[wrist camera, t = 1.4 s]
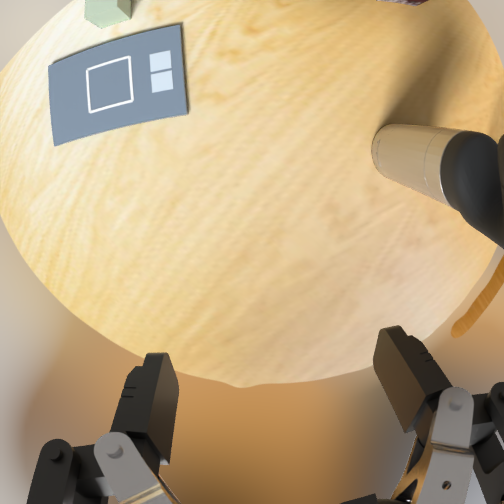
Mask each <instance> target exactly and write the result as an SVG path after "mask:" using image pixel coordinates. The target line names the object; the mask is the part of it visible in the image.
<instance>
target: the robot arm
mask: <svg viewBox="0 0 504 504" xmlns="http://www.w3.org/2000/svg"><path fill="white" fill-rule="evenodd" d="M372 158H373V162H374V164H375V166H376V168H377V170H378V171H379V172H380V173H381V174H382V175H383V176H384V177H386V178H388V179H390V180H393V181H395V182H397V183H399V184H402V185H404V186H406V187H409V188H411V189H413V190H415V191H418V192H420V193H422V194H424V195H426V196H429V197H431V198H433V199H435V200H437V201H439V202H441V203H443V204H445V205H448V206H450V207H452V208H454V209H455V210H457V211H459V212H460V213H461V215H462V216H463V218H464V219H465V220H466V222H467V223H468V224H470V225H471V226H472V227H474V228H475V229H477V230H478V231H480V232H481V233H482V234H484V235H485V236H487V237H488V238H490V239H491V240H492V241H494V242H495V243H496V244H498V245H499V246H500V247H502V248H503V249H504V135H503V136H502V137H501V138H500V140H499V143H498V144H497V143H496V142H495V141H494V140H493V139H492V138H491V137H489V136H488V135H486V134H483V133H479V132H474V131H467V130H460V129H451V128H443V127H433V126H422V125H410V124H389V125H386V126H384V127H383V128H382V129H380V130H379V132H378V133H377V134H376V136H375V138H374V140H373V144H372ZM373 365H374V370H375V372H376V374H377V376H378V378H379V380H380V382H381V384H382V386H383V388H384V390H385V392H386V394H387V396H388V399H389V401H390V403H391V405H392V407H393V409H394V411H395V413H396V415H397V417H398V420H399V422H400V424H401V426H402V428H403V430H404V433H408V432H410V431H413V430H415V431H416V434H417V436H416V437H415V440H414V443H413V447H412V450H411V453H410V456H409V459H408V462H407V465H406V468H405V470H404V473H403V476H402V478H401V480H400V482H399V483H398V485H397V487H396V488H395V490H394V492H393V494H392V496H391V498H390V499H377V498H376V495H375V494H371V495H368V496H365V497H361V498H358V499H354V500H350V501H347V502H343V503H341V504H464V502H465V499H466V495H467V491H468V487H469V482H470V478H471V473H472V468H473V469H474V472H475V474H476V477H477V479H478V482H479V484H480V487H481V490H482V492H483V495H484V498H485V500H486V503H487V504H504V450H503V448H502V446H501V444H500V442H499V440H498V438H497V436H496V434H495V432H496V431H497V430H498V432H499V434H500V436H501V438H502V440H503V442H504V382H499V383H496V384H495V385H494V386H493V387H492V389H491V390H490V392H489V393H485V394H477V395H471V394H470V393H469V392H468V391H467V390H465V389H463V388H460V387H453V386H452V385H451V383H450V382H449V380H448V379H447V377H446V376H445V374H444V373H443V372H442V370H441V368H440V367H439V366H438V364H437V363H436V362H435V360H433V357H432V356H431V354H430V353H428V350H427V349H426V347H425V346H424V344H423V343H422V342H421V341H419V340H418V339H417V338H415V337H414V336H412V335H410V336H407V334H406V333H405V331H404V330H403V329H402V327H401V326H399V325H397V326H392V327H388V328H383V329H381V330H380V331H379V335H378V339H377V344H376V348H375V352H374V357H373ZM178 396H179V385H178V380H177V377H176V374H175V371H174V369H173V366H172V363H171V360H170V357H169V355H168V353H147V354H146V357H145V360H144V363H143V366H136V367H135V368H134V369H133V370H132V371H131V372H130V373H129V375H128V376H127V379H126V382H125V385H124V389H123V391H122V394H121V398H120V400H119V403H118V407H117V410H116V413H115V417H114V420H113V424H112V427H111V430H110V432H109V433H107V434H105V435H103V436H101V437H100V438H99V439H98V440H97V442H96V443H95V444H93V445H86V446H78V447H71V446H70V445H69V443H67V442H66V441H64V440H62V439H53V440H51V441H49V442H47V443H46V444H45V445H44V446H43V448H42V450H41V452H40V455H39V459H38V462H37V465H36V469H35V472H34V476H33V479H32V483H31V487H30V491H29V495H28V499H27V504H108V496H112V495H115V497H116V498H117V500H118V502H119V504H181V503H180V502H179V500H178V499H177V498H176V497H175V496H174V494H173V493H172V491H171V490H170V489H169V487H168V486H167V485H166V483H165V482H164V481H163V479H162V478H161V477H160V475H159V467H160V464H163V465H169V463H170V455H171V447H172V439H173V432H174V423H175V417H176V409H177V403H178Z"/></svg>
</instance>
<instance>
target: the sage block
mask: <svg viewBox="0 0 504 504" xmlns="http://www.w3.org/2000/svg"><path fill="white" fill-rule="evenodd" d="M84 18H85V19H86V20H88V21H90V22H91V23H93V24H94V25H96V26H98V27H99V28H101V29H102V28H105V27H108V26H111V25H114V24H117V23H120V22H123V21H127V20H130V19H131V0H85V15H84Z"/></svg>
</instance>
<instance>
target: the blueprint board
mask: <svg viewBox="0 0 504 504" xmlns="http://www.w3.org/2000/svg"><path fill="white" fill-rule="evenodd" d="M48 73H49V99H50V113H51V124H52V133H53V141H54V146H58V145H61V144H64V143H68V142H71V141H74V140H77V139H81V138H84V137H87V136H91V135H94V134H98V133H102V132H106V131H110V130H113V129H118V128H122V127H126V126H130V125H135V124H139V123H144V122H149V121H154V120H159V119H165V118H170V117H176V116H182V115H188V110H187V100H186V90H185V78H184V66H183V53H182V38H181V26H180V25H175V26H170V27H165V28H160V29H156V30H152V31H147V32H143V33H139V34H136V35H132V36H128V37H125V38H121V39H118V40H115V41H111V42H108V43H105V44H102V45H99V46H96V47H94V48H91V49H88V50H85V51H83V52H80V53H78V54H75V55H73V56H70V57H68V58H65V59H63V60H61V61H58V62H56V63H54V64H52V65H49V66H48Z"/></svg>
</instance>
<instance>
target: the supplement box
mask: <svg viewBox="0 0 504 504" xmlns="http://www.w3.org/2000/svg"><path fill="white" fill-rule="evenodd" d="M377 1H387V2H395V3H402V4H407V5H412V6H417V5H419V4H421V3H423V2H426V1H428V0H377Z"/></svg>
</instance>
